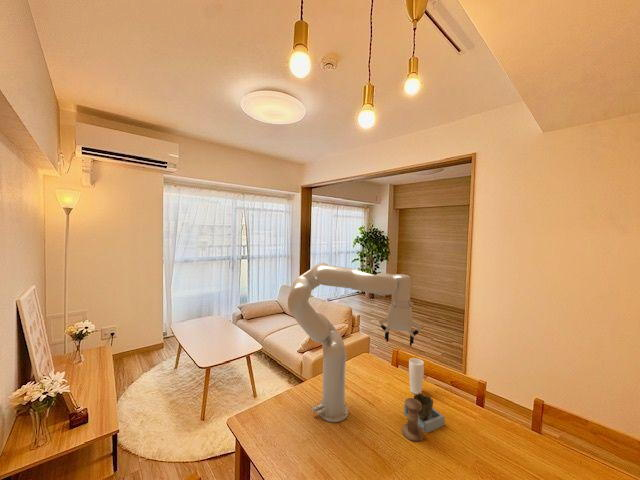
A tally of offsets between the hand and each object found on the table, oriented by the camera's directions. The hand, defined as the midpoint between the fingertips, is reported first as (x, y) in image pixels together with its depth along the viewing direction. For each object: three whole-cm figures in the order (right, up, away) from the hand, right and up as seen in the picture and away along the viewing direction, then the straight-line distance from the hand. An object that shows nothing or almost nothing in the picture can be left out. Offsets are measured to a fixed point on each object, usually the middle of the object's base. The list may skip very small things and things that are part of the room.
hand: (398, 342), depth 111 cm
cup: (+8, -29, -5) cm, 31 cm away
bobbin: (+1, -30, -12) cm, 32 cm away
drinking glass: (+12, -30, +14) cm, 35 cm away
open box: (+9, -30, -4) cm, 31 cm away
